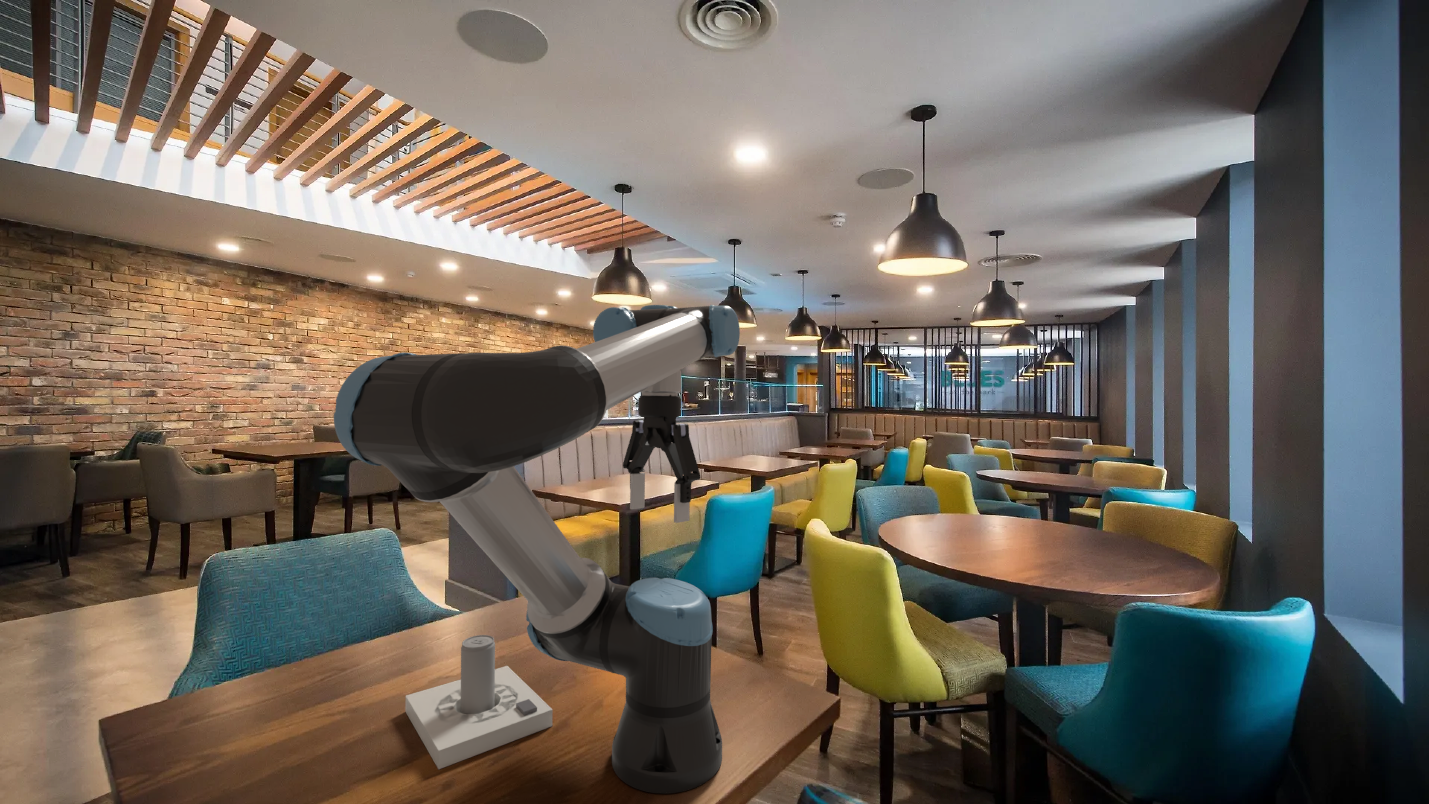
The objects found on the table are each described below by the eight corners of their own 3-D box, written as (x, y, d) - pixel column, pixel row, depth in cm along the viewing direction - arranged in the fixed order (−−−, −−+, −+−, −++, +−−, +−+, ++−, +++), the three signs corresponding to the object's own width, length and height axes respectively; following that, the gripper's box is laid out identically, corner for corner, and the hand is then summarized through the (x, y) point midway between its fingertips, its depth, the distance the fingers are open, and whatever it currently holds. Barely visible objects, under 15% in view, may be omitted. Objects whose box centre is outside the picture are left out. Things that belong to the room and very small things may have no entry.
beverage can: (482, 729, 86) (483, 649, 86) (453, 725, 87) (454, 646, 87) (500, 712, 91) (501, 636, 91) (473, 708, 92) (473, 633, 92)
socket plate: (552, 725, 87) (552, 705, 87) (438, 769, 77) (438, 746, 77) (507, 679, 101) (507, 662, 101) (405, 711, 91) (405, 691, 91)
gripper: (722, 395, 95) (720, 524, 96) (639, 394, 114) (637, 501, 115) (686, 395, 91) (684, 531, 91) (605, 393, 110) (604, 506, 110)
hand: (658, 514), depth 103 cm, fingers open, 13 cm apart
